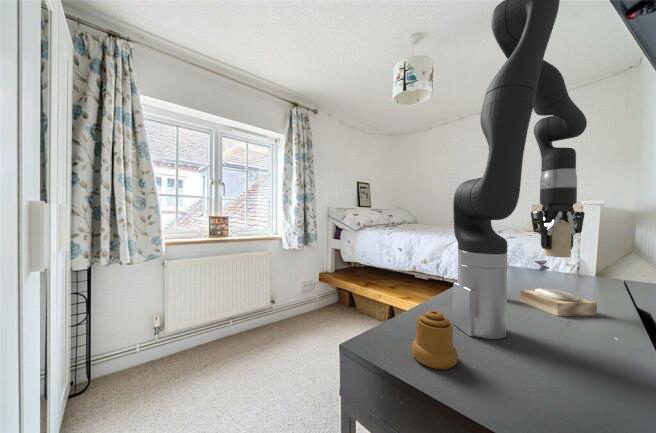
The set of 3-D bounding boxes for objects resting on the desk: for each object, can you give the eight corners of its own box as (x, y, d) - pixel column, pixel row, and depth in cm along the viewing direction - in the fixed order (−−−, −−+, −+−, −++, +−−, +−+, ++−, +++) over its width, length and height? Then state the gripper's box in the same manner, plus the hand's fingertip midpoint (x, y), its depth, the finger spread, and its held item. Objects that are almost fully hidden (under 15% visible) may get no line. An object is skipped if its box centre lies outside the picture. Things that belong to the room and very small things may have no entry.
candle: (576, 258, 66) (576, 219, 66) (552, 257, 67) (552, 219, 67) (561, 254, 72) (562, 219, 72) (539, 254, 73) (539, 219, 73)
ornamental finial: (403, 357, 44) (424, 343, 49) (446, 378, 39) (465, 360, 44) (403, 311, 44) (424, 302, 49) (446, 326, 39) (465, 313, 44)
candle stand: (557, 316, 64) (557, 300, 64) (520, 301, 75) (520, 287, 75) (596, 315, 65) (596, 299, 65) (554, 300, 76) (554, 287, 76)
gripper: (546, 185, 65) (545, 250, 65) (597, 186, 66) (596, 250, 66) (521, 188, 73) (521, 247, 73) (567, 189, 74) (566, 247, 74)
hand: (556, 248), depth 69 cm, fingers closed on candle, 5 cm apart
